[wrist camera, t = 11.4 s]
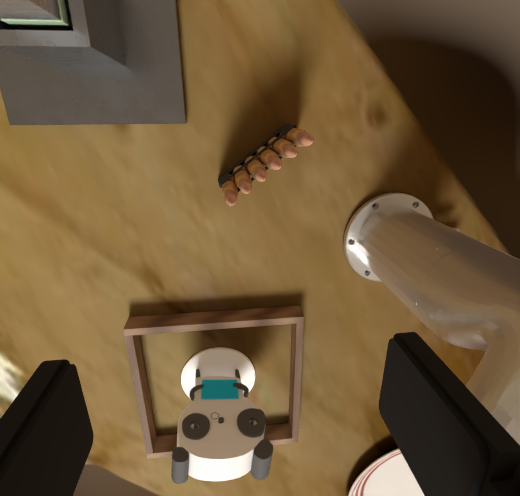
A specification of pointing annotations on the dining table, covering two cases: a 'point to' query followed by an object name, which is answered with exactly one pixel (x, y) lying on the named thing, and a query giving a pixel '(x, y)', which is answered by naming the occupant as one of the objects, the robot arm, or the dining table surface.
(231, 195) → the ammunition clip
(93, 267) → the dining table surface
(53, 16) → the column
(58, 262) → the dining table surface
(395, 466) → the dinner plate
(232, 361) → the panda figurine
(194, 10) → the dining table surface
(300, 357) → the frame
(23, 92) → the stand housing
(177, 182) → the dining table surface
